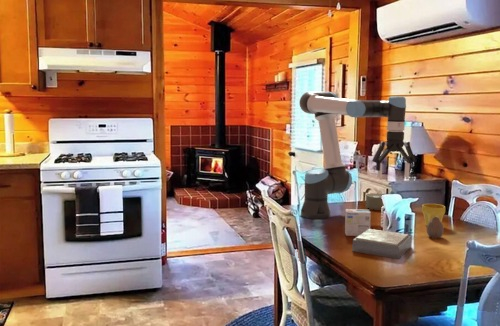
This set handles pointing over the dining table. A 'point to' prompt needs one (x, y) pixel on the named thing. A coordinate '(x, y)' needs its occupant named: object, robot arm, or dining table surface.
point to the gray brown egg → (435, 228)
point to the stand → (382, 243)
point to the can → (374, 201)
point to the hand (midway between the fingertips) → (393, 177)
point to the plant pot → (432, 212)
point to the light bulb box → (356, 221)
